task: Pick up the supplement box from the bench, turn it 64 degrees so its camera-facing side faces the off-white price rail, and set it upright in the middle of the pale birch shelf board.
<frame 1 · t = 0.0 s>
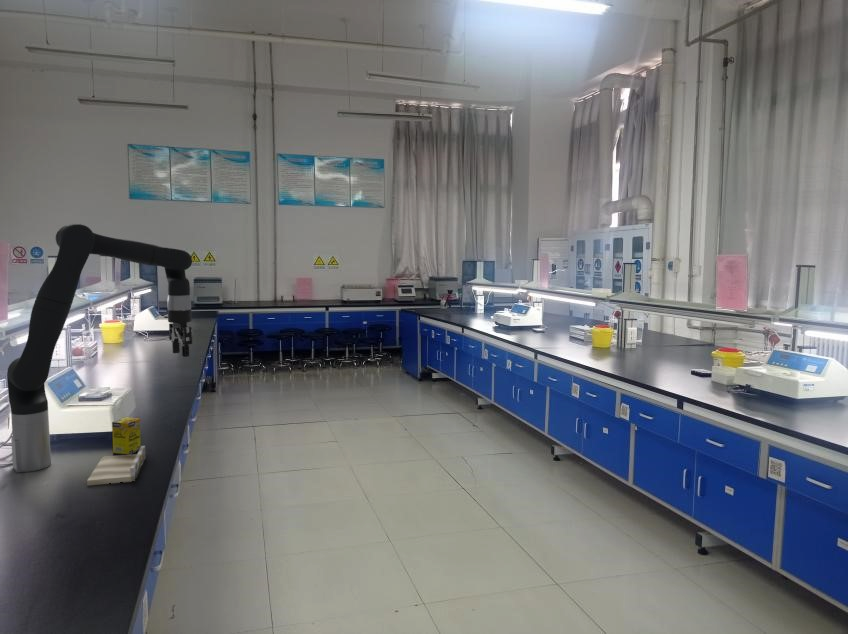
hand: (180, 354, 207), 29 cm above the worktop, tool pointing down, fingers open, 8 cm apart
supplement box: (127, 453, 193), on the worktop
shelf: (118, 470, 177), on the worktop
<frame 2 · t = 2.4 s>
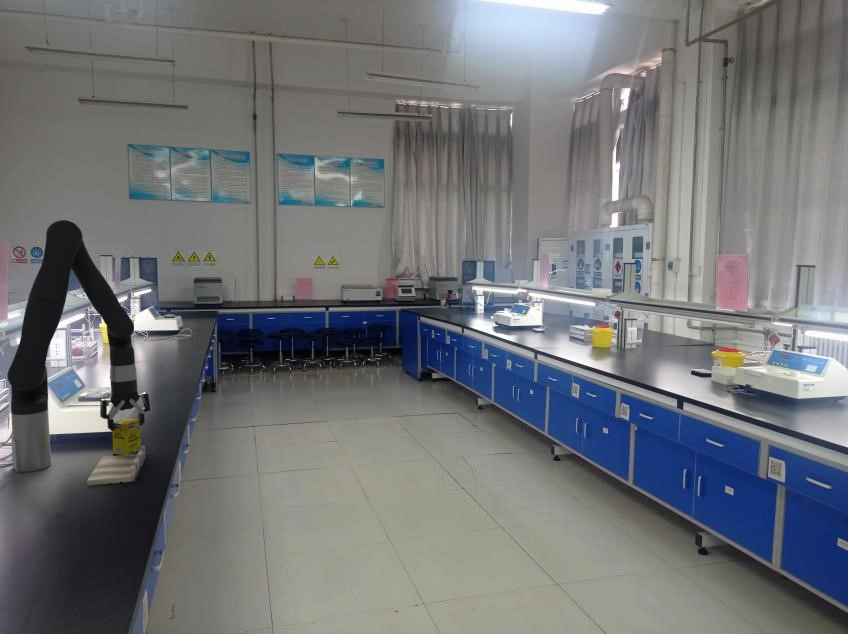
hand: (126, 427, 192), 8 cm above the worktop, tool pointing down, fingers closed on supplement box, 8 cm apart
supplement box: (127, 454, 193), on the worktop, touching gripper
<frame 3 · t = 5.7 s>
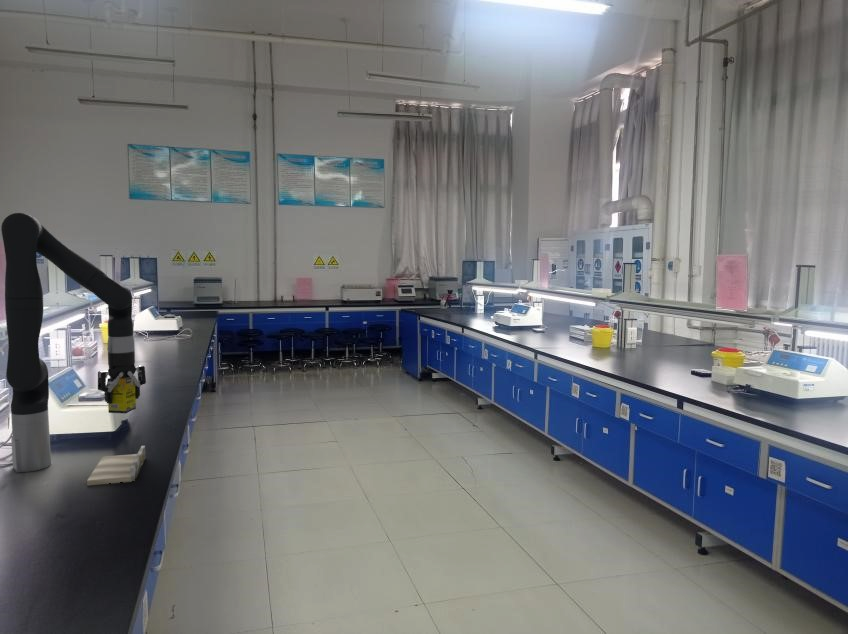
hand: (123, 400, 188), 18 cm above the worktop, tool pointing down, fingers closed on supplement box, 8 cm apart
supplement box: (122, 411, 189), point 14 cm above the worktop, touching gripper
when the fingers open (6 cm above the worktop, at t = 8.7 s): supplement box drops 1 cm, resting on shelf.
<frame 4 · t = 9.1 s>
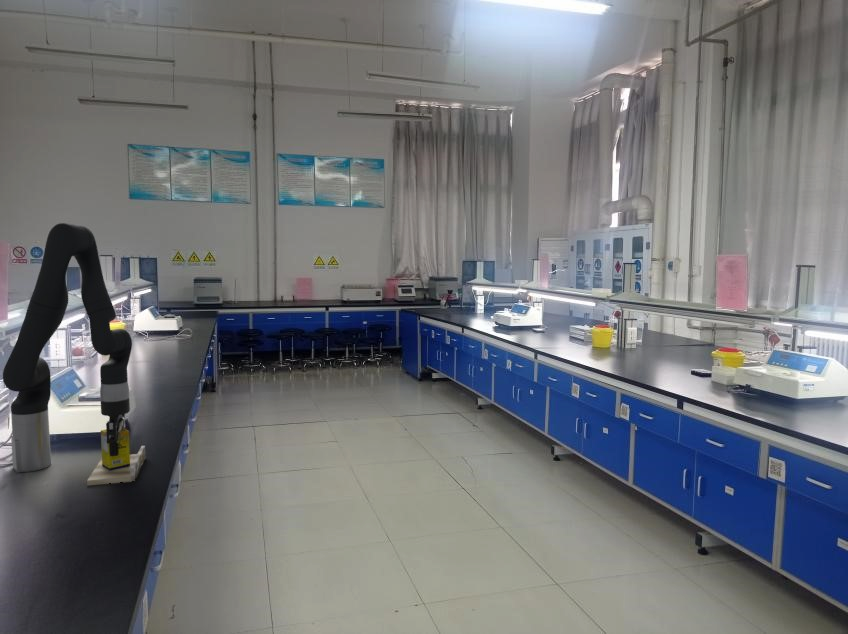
hand: (117, 450, 176), 6 cm above the worktop, tool pointing down, fingers open, 8 cm apart
supplement box: (116, 466, 177), point 1 cm above the worktop, touching gripper, shelf
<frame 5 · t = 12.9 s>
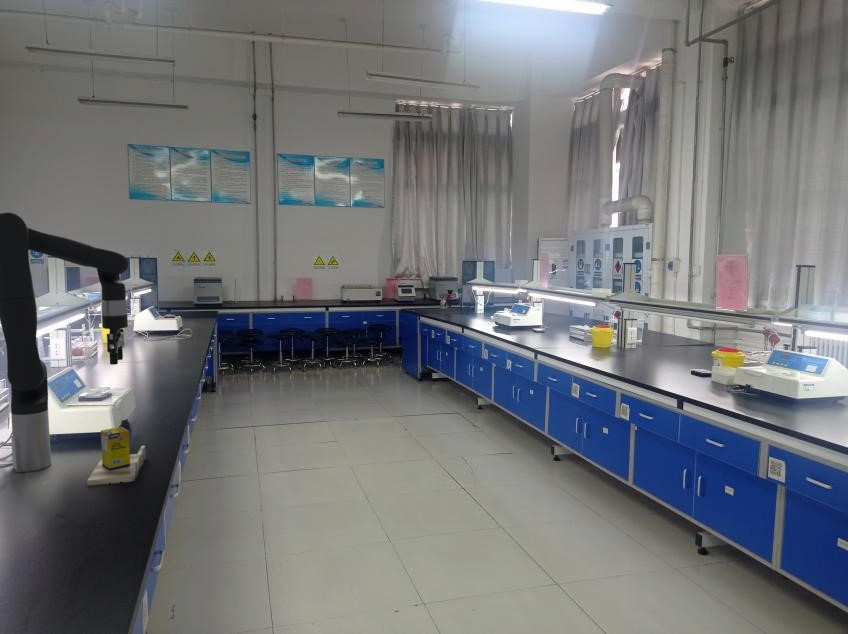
hand: (116, 362, 198), 28 cm above the worktop, tool pointing down, fingers open, 8 cm apart
supplement box: (116, 466, 177), point 1 cm above the worktop, touching shelf
at the end: supplement box 0.5 cm off-centre on the shelf, point 1.3 cm above the shelf's base; supplement box tilted 0°; the gripper is holding nothing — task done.
